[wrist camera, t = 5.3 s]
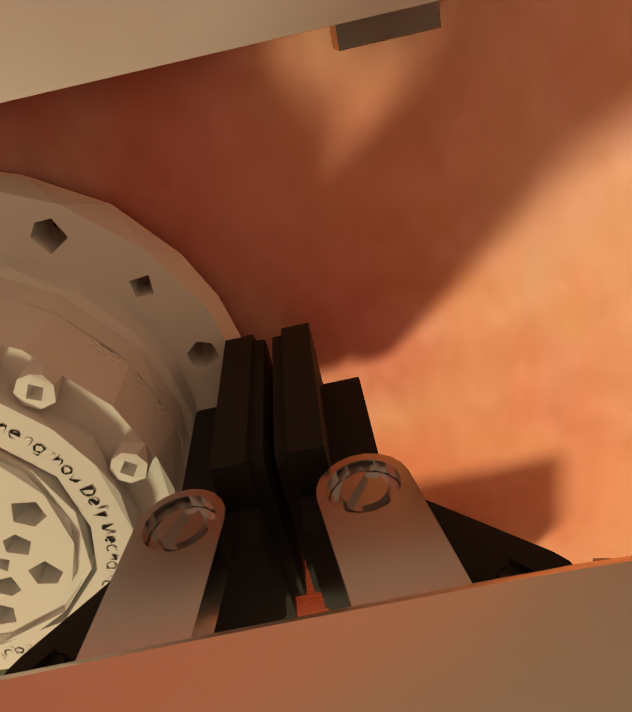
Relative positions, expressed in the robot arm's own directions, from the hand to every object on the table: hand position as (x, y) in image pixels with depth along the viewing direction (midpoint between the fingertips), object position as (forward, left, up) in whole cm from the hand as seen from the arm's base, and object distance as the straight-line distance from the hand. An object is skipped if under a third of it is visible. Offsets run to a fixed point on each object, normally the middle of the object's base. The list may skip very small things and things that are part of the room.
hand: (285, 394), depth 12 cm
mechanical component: (+6, -1, -2) cm, 6 cm away
